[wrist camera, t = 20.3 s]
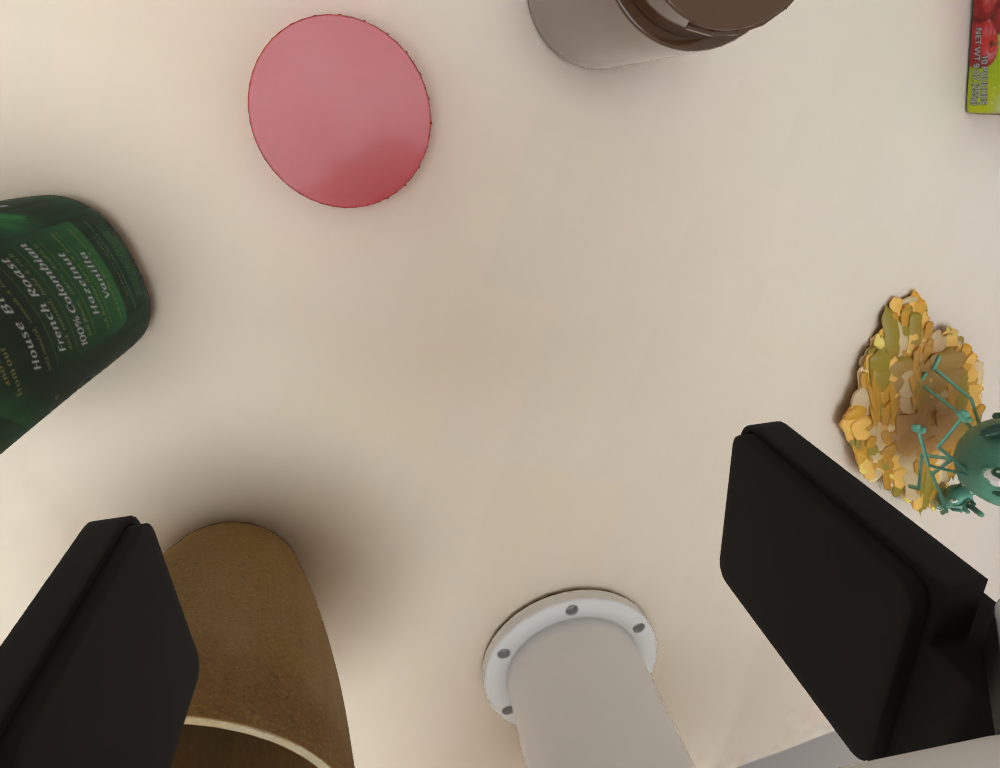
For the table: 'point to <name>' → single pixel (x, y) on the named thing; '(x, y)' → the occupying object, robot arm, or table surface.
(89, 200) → the table surface
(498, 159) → the table surface
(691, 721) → the table surface
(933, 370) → the yellow green lumpy piece
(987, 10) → the snack box
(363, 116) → the lid
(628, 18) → the jar
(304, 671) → the plant pot
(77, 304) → the coffee jar
